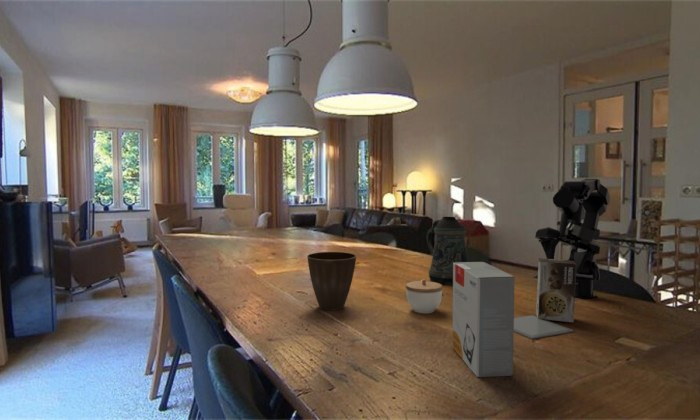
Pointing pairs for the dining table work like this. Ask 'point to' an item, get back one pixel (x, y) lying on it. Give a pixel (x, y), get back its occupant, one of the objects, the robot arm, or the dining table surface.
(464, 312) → the hard drive box
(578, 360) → the dining table surface
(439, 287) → the lidded jar
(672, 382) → the dining table surface
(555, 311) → the coffee box
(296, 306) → the dining table surface
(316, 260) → the plant pot
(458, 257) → the beer stein
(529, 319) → the tile
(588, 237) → the robot arm
